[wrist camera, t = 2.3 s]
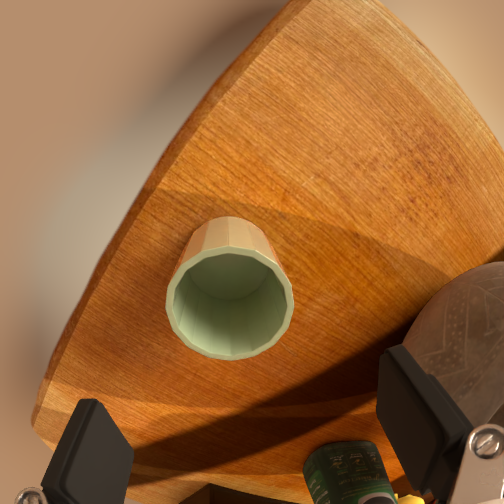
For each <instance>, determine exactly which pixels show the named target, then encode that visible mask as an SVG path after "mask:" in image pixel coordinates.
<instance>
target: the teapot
mask: <svg viewBox="0 0 504 504" xmlns="http://www.w3.org/2000/svg"><path fill="white" fill-rule="evenodd" d="M394 495H395V497H396V500H397V502H398V504H425V503H424V501H423V499H421V498H419V497H415V496H411V495H407V496H405V497H402V498H399V499H398V494H394Z"/></svg>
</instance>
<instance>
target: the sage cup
mask: <svg viewBox="0 0 504 504" xmlns="http://www.w3.org/2000/svg"><path fill="white" fill-rule="evenodd" d="M165 309H166V313H167V316H168V319H169V322H170V324H171V327H172V330H173V331H174V332H175V334H176V335H177V336H178V337H179V338H180V339H181V340H182V341H183V342H184V344H185V345H186V346H187V347H189V348H190V349H192V350H194V351H196V352H198V353H200V354H202V355H204V356H206V357H209V358H214V359H221V360H229V361H231V360H232V361H233V360H239V359H244V358H249V357H254V356H256V355H258V354H260V353H261V352H263V351H265V350H267V349H268V348H270V347H272V346H273V345H275V343H276V342H277V341H278V340H279V339H280V337H281V336H282V335H283V334H284V332H285V331H286V330H287V329H288V327H289V324H290V320H291V317H292V313H293V310H294V299H293V293H292V287H291V283H290V281H289V279H288V277H287V275H286V273H285V271H284V269H283V267H282V265H281V263H280V261H279V259H278V257H277V255H276V253H275V251H274V249H273V247H272V245H271V243H270V242H269V240H268V239H267V237H266V235H265V234H264V233H263V231H262V230H261V229H260V228H259V227H257V226H256V225H255V224H253V223H251V222H250V221H248V220H245V219H242V218H238V217H231V216H225V217H218V218H215V219H212V220H209V221H207V222H205V223H204V224H202V225H201V226H200V227H198V228H197V229H196V230H195V231H194V232H193V234H192V235H191V237H190V238H189V240H188V242H187V243H186V245H185V247H184V249H183V251H182V254H181V256H180V258H179V261H178V263H177V265H176V268H175V270H174V272H173V275H172V277H171V280H170V282H169V284H168V287H167V296H166V306H165Z"/></svg>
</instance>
